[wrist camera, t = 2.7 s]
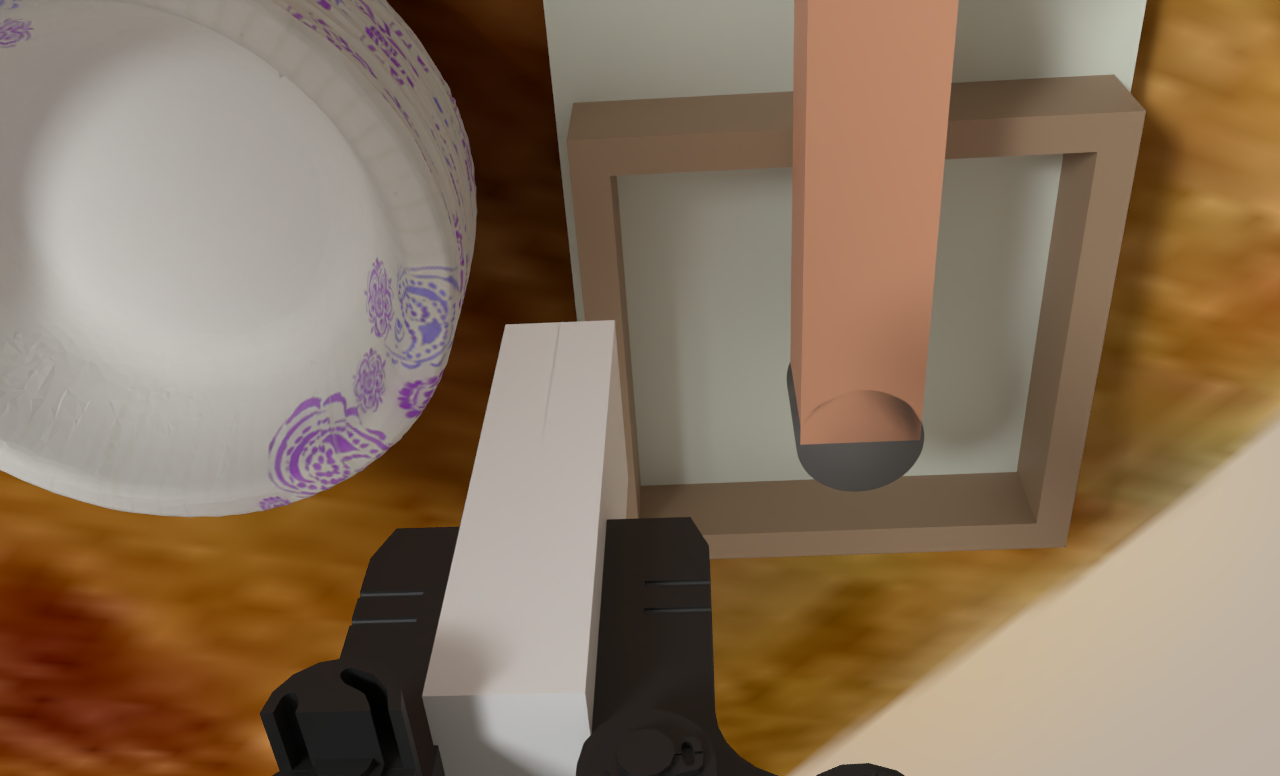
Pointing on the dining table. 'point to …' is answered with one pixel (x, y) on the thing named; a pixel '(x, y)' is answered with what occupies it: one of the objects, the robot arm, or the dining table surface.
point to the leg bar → (865, 230)
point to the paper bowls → (221, 246)
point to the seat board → (761, 266)
